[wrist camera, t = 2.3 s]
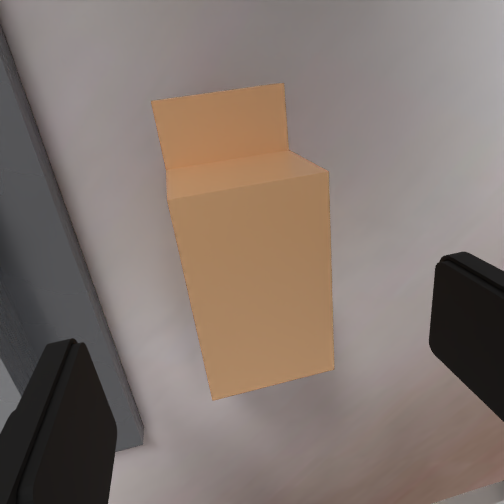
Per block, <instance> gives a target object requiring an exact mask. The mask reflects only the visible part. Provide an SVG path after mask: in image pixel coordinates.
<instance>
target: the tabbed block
mask: <svg viewBox="0 0 504 504" xmlns="http://www.w3.org/2000/svg"><path fill="white" fill-rule="evenodd" d="M151 104H152V109H153V113H154V118H155V122H156V127H157V131H158V136H159V140H160V145H161V149H162V154H163V159H164V163H165V168H166V184H167V202H168V206H169V211H170V215H171V220H172V224H173V228H174V233H175V237H176V242H177V246H178V251H179V255H180V259H181V264H182V268H183V273H184V277H185V281H186V286H187V290H188V295H189V299H190V303H191V308H192V312H193V317H194V321H195V325H196V330H197V334H198V339H199V343H200V347H201V352H202V356H203V361H204V365H205V369H206V374H207V378H208V383H209V387H210V391H211V396H212V400H213V401H214V400H218V399H222V398H225V397H229V396H233V395H237V394H241V393H245V392H249V391H253V390H257V389H261V388H264V387H268V386H272V385H276V384H280V383H284V382H288V381H292V380H296V379H299V378H303V377H307V376H311V375H315V374H319V373H323V372H327V371H331V370H334V340H333V304H332V269H331V234H330V198H329V171H327V170H325V169H323V168H321V167H320V166H318V165H316V164H314V163H312V162H310V161H309V160H307V159H305V158H303V157H301V156H299V155H297V154H296V153H294V152H292V151H290V150H289V145H288V131H287V118H286V104H285V91H284V83H276V84H269V85H261V86H254V87H247V88H240V89H232V90H225V91H218V92H211V93H203V94H196V95H189V96H182V97H174V98H167V99H160V100H153V101H151Z"/></svg>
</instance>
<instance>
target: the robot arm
mask: <svg viewBox="0 0 504 504" xmlns="http://www.w3.org/2000/svg"><path fill="white" fill-rule="evenodd" d="M429 345H430V348H431V350H432V352H433V353H434V355H435V356H436V357H437V358H438V359H439V360H440V361H442V362H443V363H444V364H445V365H446V366H447V367H448V368H449V369H450V370H451V371H452V372H453V373H454V374H455V375H456V376H457V377H458V378H459V379H460V380H461V381H462V382H463V383H464V384H465V385H466V386H467V387H468V388H469V389H470V390H471V391H473V392H474V393H475V394H476V395H477V396H478V397H479V398H480V399H481V400H482V401H483V402H484V403H485V404H486V405H487V406H488V407H489V408H490V409H491V410H492V411H493V412H494V413H495V414H496V415H497V416H498V417H499V418H500V419H501V420H502V421H504V271H502V270H500V269H498V268H496V267H495V266H493V265H491V264H489V263H487V262H485V261H483V260H481V259H479V258H477V257H475V256H474V255H472V254H470V253H467V252H459V253H455V254H450V255H446V256H443V257H442V258H441V259H440V262H439V263H437V265H436V268H435V278H434V289H433V300H432V312H431V323H430V334H429ZM116 443H117V426H116V422H115V419H114V416H113V414H112V411H111V408H110V406H109V403H108V400H107V398H106V395H105V393H104V390H103V387H102V385H101V382H100V380H99V377H98V374H97V372H96V369H95V367H94V364H93V361H92V359H91V356H90V353H89V351H88V348H87V346H86V344H85V343H84V342H81V343H78V342H77V341H76V340H75V339H74V338H71V339H67V340H62V341H58V342H53V343H49V344H47V345H46V347H45V349H44V351H43V353H42V355H41V357H40V359H39V361H38V363H37V366H36V368H35V370H34V372H33V374H32V376H31V378H30V380H29V382H28V384H27V387H26V389H25V391H24V393H23V395H22V397H21V399H20V401H19V403H18V405H17V408H16V410H14V411H13V412H12V413H11V414H10V416H9V417H8V419H7V421H6V423H5V425H4V427H3V429H2V431H1V433H0V504H108V499H109V492H110V485H111V478H112V471H113V464H114V457H115V450H116ZM433 504H504V481H501V482H498V483H494V484H491V485H488V486H485V487H482V488H479V489H476V490H473V491H470V492H467V493H464V494H460V495H457V496H454V497H451V498H448V499H445V500H442V501H439V502H436V503H433Z"/></svg>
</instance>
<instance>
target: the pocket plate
mask: <svg viewBox="0 0 504 504" xmlns="http://www.w3.org/2000/svg"><path fill="white" fill-rule="evenodd" d="M71 338H74V339H75V340H76V341H77V342H78V343H81V342H84V343H85V344H86V346H87V348H88V351H89V353H90V356H91V359H92V361H93V364H94V367H95V369H96V372H97V374H98V377H99V380H100V382H101V385H102V387H103V390H104V393H105V395H106V398H107V400H108V403H109V406H110V408H111V411H112V414H113V416H114V419H115V422H116V426H117V443H116V450H115V452H117V451H121V450H124V449H128V448H132V447H136V446H139V445H143V435H144V426H143V424H142V421H141V418H140V415H139V412H138V410H137V407H136V404H135V401H134V398H133V396H132V393H131V390H130V387H129V384H128V381H127V379H126V376H125V373H124V370H123V367H122V365H121V362H120V359H119V356H118V353H117V351H116V348H115V345H114V342H113V339H112V337H111V334H110V331H109V328H108V325H107V322H106V320H105V317H104V314H103V311H102V308H101V306H100V303H99V300H98V297H97V294H96V292H95V289H94V286H93V283H92V280H91V278H90V275H89V272H88V269H87V266H86V263H85V261H84V258H83V255H82V252H81V249H80V247H79V244H78V241H77V238H76V235H75V233H74V230H73V227H72V224H71V221H70V219H69V216H68V213H67V210H66V207H65V204H64V202H63V199H62V196H61V193H60V190H59V188H58V185H57V182H56V179H55V176H54V174H53V171H52V168H51V165H50V162H49V160H48V157H47V154H46V151H45V148H44V146H43V143H42V140H41V137H40V134H39V131H38V129H37V126H36V123H35V120H34V117H33V115H32V112H31V109H30V106H29V103H28V101H27V98H26V95H25V92H24V89H23V87H22V84H21V81H20V78H19V75H18V72H17V70H16V67H15V64H14V61H13V58H12V56H11V53H10V50H9V47H8V44H7V42H6V39H5V36H4V33H3V30H2V28H1V25H0V433H1V431H2V429H3V427H4V425H5V423H6V421H7V419H8V417H9V416H10V414H11V413H12V412H13V411H14V410H16V408H17V405H18V403H19V401H20V399H21V397H22V395H23V393H24V391H25V389H26V387H27V384H28V382H29V380H30V378H31V376H32V374H33V372H34V370H35V368H36V366H37V363H38V361H39V359H40V357H41V355H42V353H43V351H44V349H45V347H46V345H47V344H49V343H53V342H58V341H62V340H67V339H71Z"/></svg>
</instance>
